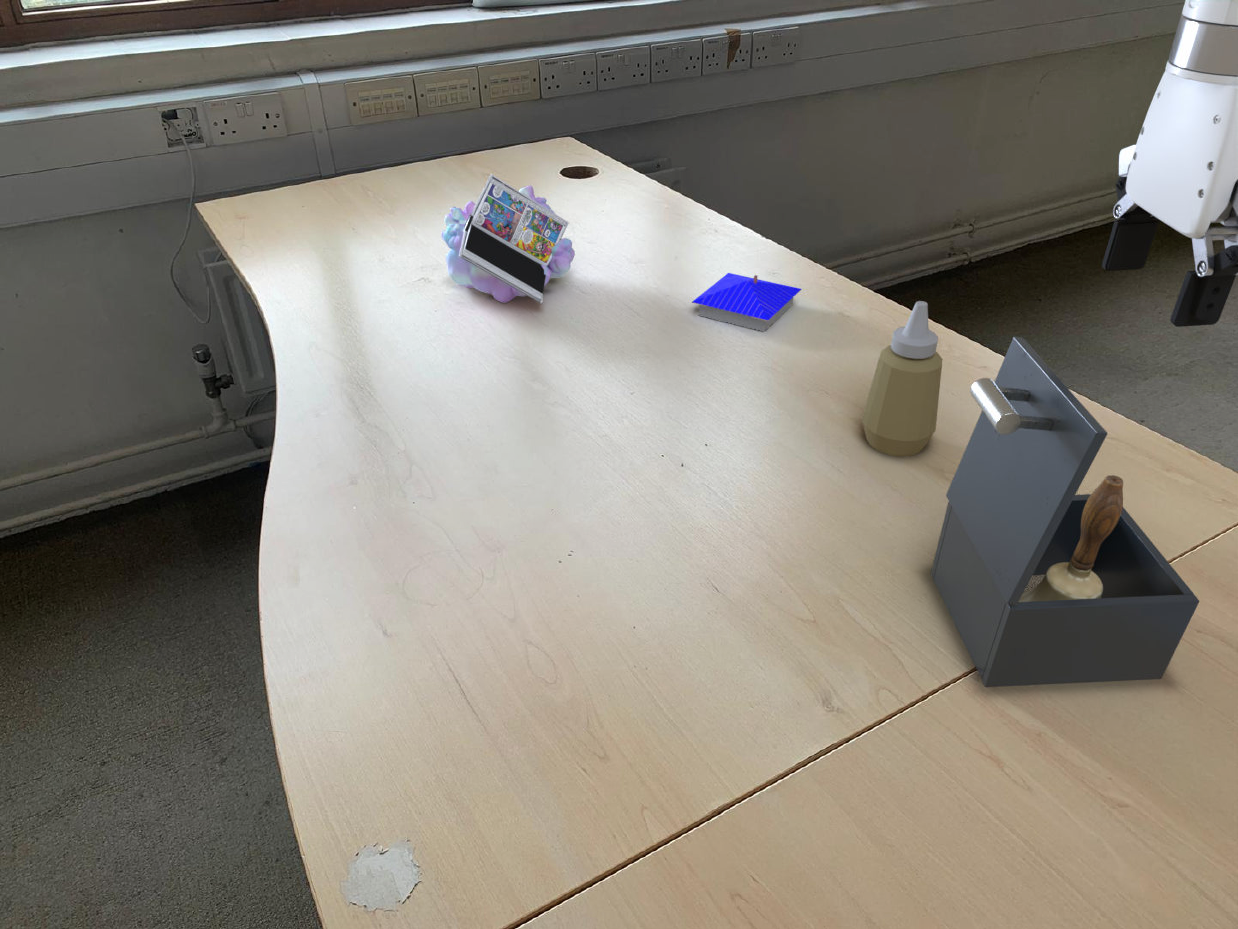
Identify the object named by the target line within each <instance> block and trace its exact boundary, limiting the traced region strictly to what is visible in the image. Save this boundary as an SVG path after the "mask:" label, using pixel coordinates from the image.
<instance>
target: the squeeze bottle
mask: <svg viewBox="0 0 1238 929" xmlns="http://www.w3.org/2000/svg"><path fill="white" fill-rule="evenodd" d="M929 328H930V327H929V305H928V303H927V302H926V301H923V300H918V301H916V302H915V303H914V306H913V308H912V310H911V313H910V314H909V317H908V319H907V322H906V324H905V325H904V326H899V327H897V328H896V329H894V330H893V332H892V335H891V336H892V337H891V342H890V344H889V345H886V346H885V347H884V348H883V349H882V350H880V354H879V357H878V361H877V364H876V368H875V371H874V375H873V378H872V382H871V385H870V388H869V392H868V396H867V398H866V402H865V406H864V409H863V412H862V417H861V421H862V426H863V430H864V435H865V439H866V441H867V443H868V445H869V446H870V447H871V448H873V449H875V451H876V452H879V453H881V454H884V455H886V456H887V455H888V456H893V457H911V456H913V455H916V454H917V455H918V454H919V453H921V451H922V450H924V448H925V447H926V445H927V444H928V442H929V441H930V439H931V438H932V437H933V435H934V433H935V432H936V431H937V430H936V429H937V420H938V419H937V418H938V410H939V400H940V388H941V379H942V368H943V358H942V356H941V355H940V354H939V352H937V346H938V343H939V337H938V335H937V334H936V333H935V332H934V331H932V330H931V329H929Z"/></svg>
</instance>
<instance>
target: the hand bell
mask: <svg viewBox="0 0 1238 929" xmlns="http://www.w3.org/2000/svg"><path fill="white" fill-rule="evenodd" d="M1090 494H1091V495H1090V496H1089V498H1088V500H1087V502H1086V504H1085V507H1084V510H1083V513H1082V518H1081V537H1080V541H1079V543H1078V545H1077V547H1076V550H1075V552H1074V555H1073V556H1072V558H1071V561H1070V563H1069V562H1063V563H1057V564H1055V565H1053V566H1051V567H1050V568H1049V569H1048V570H1047V572H1046V574H1045V575H1043V578H1042V579H1041V580H1040V581H1039V583H1038V584H1037V586H1036V587H1033V588H1028V589H1025V590H1024V592H1023V594H1022V596H1021V598H1020V600H1019V602H1031V601H1053V600H1076V599H1098V598H1101V596H1102V592H1103V585H1102V582H1101V580H1100V578H1099V577H1098V576H1097V575H1096V574H1095V573H1094V572H1093V571H1091V569H1092V568H1093V565H1094V561H1095V559H1096V556H1097V553H1098V550H1099V547H1100V545H1101V543H1102V542H1103V541H1104V539H1105V538H1106V537H1107V536H1108V535H1109V534H1110V533H1111V532H1112V530H1113V529H1114V527H1115V526H1116V524H1117V522H1118V520H1119V518H1120V515H1121V512H1122V508H1123V507H1124V480H1123V479H1122V478H1121V477H1119V476H1118V475H1114V474H1110V475H1106V476H1105V478H1104V479H1103V480H1102V482H1101V483H1100V484H1099V485H1098V486H1097V487H1096V488H1095V489H1094V490H1093V491H1092V492H1091V493H1090Z"/></svg>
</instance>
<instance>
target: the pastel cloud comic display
mask: <svg viewBox="0 0 1238 929" xmlns="http://www.w3.org/2000/svg"><path fill="white" fill-rule="evenodd" d="M547 202H548V201H547V198H545V197H543V196H542V197H540V196H535V191H534V187H533V185H527V186H523V187H521V188H520V189H519V190H518V189H516V188H514V187H513V186H511V185H509V184H508V183H507V182H505V181H503V180H501V179H500V178H498V177H497V176H496V175H493V174H492V173H490V175H489V176H488V179H487V181H486V182H485V185H484V187H483V189H482V191H481V192H480V195H479V197H478V199H477V201H476V203H475V202H474V201H473V200H469V201H468V202H467V203H466V204H465V207H464V209H462V208H461V207H456V206H452V207H451V208H449V209H450V213H447V214H445V216H444V219H443V220H444V221H443V222H444V224H445V225H446V226H447V227H446V229H445V230H442V231H441V233H440V237H441V239H442V240H443V241H444V242H445V244H446V245H447V247H448V248H449V249H450V250H448V252H447V253H446V255H445V261H446V266H447V274H448V276H449V277H450V279H451V280H452V281H453V282H454V283H455V284H456V285H459V286H461V287H465V288H470V289H472V288H473V289H475V290H477V291H478V292H481V293H484V294H488V295H492V297H493V299H495V300H496V301H498V302H500V303H502V304H504V303H509V302H510V301H512V300H513V299H515V297H517V296H518V297H529V298H531V299H533V300H535V301H536V302H538V303H540V304H543V300H544V299H543V298H544V290H545V287H546V286H547V284H549V281H550V279H555V278H556V279H557V278H562V277H563V276H565V274H566V273H567V272H569V271H570V269H571V266H572V265H571V264H572V262H573V260H574V258H575V255H576V253H575V252H576V251H575V250H574V248H573V241H572V240H571V239H570V238H567V237H563V236H564V234H565V232H566V230H567V228H568V226H569V224H570V222H569V221H567V220H566V219H564V218H562V217H561V216H560V215H557V214H556V213H555V211H554V210H553V209H552V208H551V207H550V205H549V204H548V203H547Z"/></svg>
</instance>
